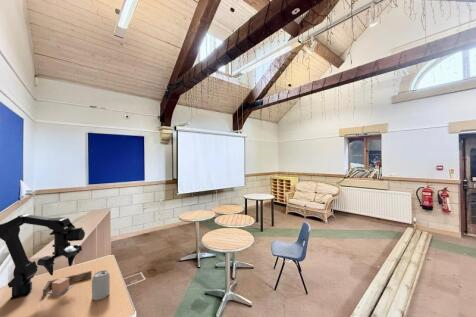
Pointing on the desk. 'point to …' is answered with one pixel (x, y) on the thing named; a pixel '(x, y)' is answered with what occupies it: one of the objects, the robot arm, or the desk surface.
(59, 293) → the pad
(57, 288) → the cube
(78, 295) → the desk surface
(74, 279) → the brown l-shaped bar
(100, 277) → the can
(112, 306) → the desk surface
